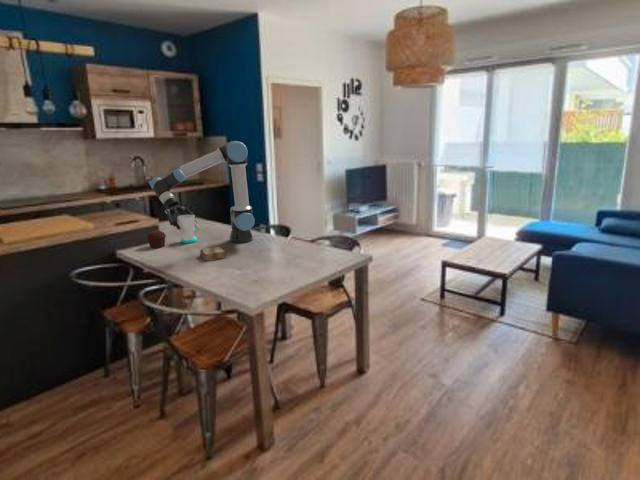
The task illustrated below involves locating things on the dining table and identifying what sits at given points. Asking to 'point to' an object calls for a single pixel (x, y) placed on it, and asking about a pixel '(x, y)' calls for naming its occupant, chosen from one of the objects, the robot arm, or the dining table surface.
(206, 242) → the dining table surface
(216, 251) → the pedestal
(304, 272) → the dining table surface
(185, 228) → the foam cup
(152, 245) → the muffin
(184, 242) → the donuts
